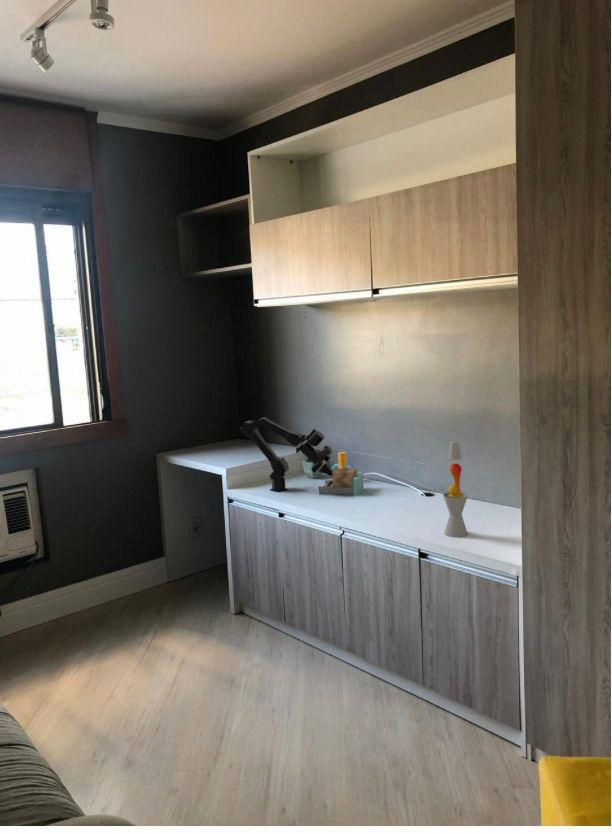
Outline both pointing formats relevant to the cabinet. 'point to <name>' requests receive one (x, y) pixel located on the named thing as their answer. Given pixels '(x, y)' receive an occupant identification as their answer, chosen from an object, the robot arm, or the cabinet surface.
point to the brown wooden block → (343, 477)
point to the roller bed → (335, 489)
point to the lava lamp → (455, 497)
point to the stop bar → (358, 483)
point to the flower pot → (307, 469)
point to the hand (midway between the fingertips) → (334, 475)
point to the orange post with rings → (342, 461)
